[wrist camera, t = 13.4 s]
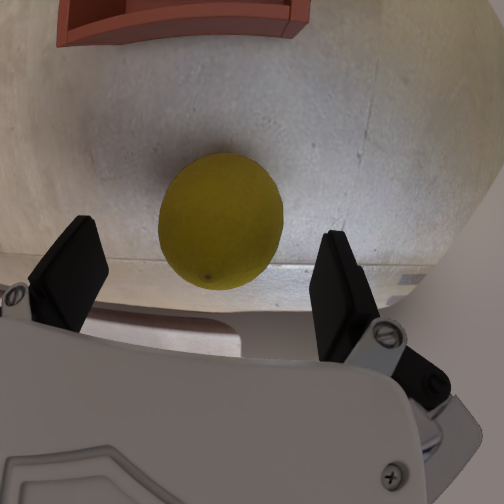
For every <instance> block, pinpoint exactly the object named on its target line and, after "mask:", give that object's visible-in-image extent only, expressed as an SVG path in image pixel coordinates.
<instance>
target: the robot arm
mask: <svg viewBox="0 0 504 504" xmlns="http://www.w3.org/2000/svg"><path fill="white" fill-rule="evenodd" d="M108 273H109V268H108V264H107V261H106V258H105V255H104V252H103V248H102V245H101V242H100V238H99V235H98V231H97V227H96V224H95V221H94V220H93V219H92V218H91V216H86V215H79V216H77V217H76V218H75V219H74V220H73V221H72V222H71V223H70V225H69V226H68V227H67V228H66V229H65V230H64V232H63V233H62V234H61V235H60V236H59V238H58V239H57V240H56V241H55V243H54V244H53V245H52V246H51V248H50V249H49V250H48V251H47V253H46V254H45V255H44V257H43V258H42V259H41V260H40V262H39V263H38V264H37V266H36V267H35V269H34V270H33V271H32V273H31V274H30V276H29V277H28V280H29V282H30V286H29V287H28V285H27V284H26V283H23V282H20V283H16V284H14V285H12V286H11V287H9V288H8V289H7V290H6V292H5V293H4V295H3V297H2V306H1V307H0V504H432V503H434V502H435V500H436V499H437V498H438V497H439V496H440V495H441V494H442V493H443V492H444V491H445V490H446V488H447V487H448V486H449V485H450V484H451V483H452V482H453V480H454V479H455V478H456V477H457V476H458V475H459V473H460V472H461V471H462V470H463V468H464V467H465V466H466V464H467V463H468V462H469V461H470V459H471V458H472V456H473V455H474V454H475V452H476V451H477V449H478V448H479V447H480V444H481V442H482V437H483V435H482V429H481V427H480V425H479V424H478V423H477V421H476V420H475V419H474V417H473V416H472V415H471V413H470V412H469V411H468V409H467V408H466V407H465V406H464V404H463V403H462V402H461V400H460V399H459V398H458V397H457V395H454V396H452V395H451V393H450V392H451V384H450V381H449V378H448V377H447V375H446V374H445V373H444V372H443V371H442V370H440V369H439V368H438V367H436V366H434V364H432V363H431V362H429V361H428V360H426V359H425V358H424V357H422V356H421V355H419V354H418V353H416V352H415V351H414V350H412V349H411V348H410V347H408V346H407V345H406V344H407V334H406V332H405V330H404V328H403V327H402V326H401V324H399V323H398V322H397V321H396V320H393V319H391V318H387V317H380V315H379V312H378V309H377V306H376V303H375V300H374V297H373V295H372V292H371V289H370V286H369V284H368V281H367V278H366V276H365V273H364V270H363V268H362V267H361V266H358V265H357V263H356V260H355V258H354V255H353V252H352V250H351V247H350V245H349V242H348V240H347V237H346V235H345V233H344V232H343V231H335V230H329V231H328V234H327V233H324V234H323V237H322V241H321V244H320V248H319V252H318V256H317V259H316V263H315V267H314V270H313V274H312V277H311V281H310V285H309V294H310V300H311V306H312V313H313V319H314V326H315V333H316V340H317V348H318V355H319V361H320V362H317V361H292V360H271V359H252V358H238V357H226V356H215V355H205V354H196V353H188V352H180V351H172V350H165V349H159V348H152V347H146V346H140V345H134V344H129V343H123V342H118V341H113V340H108V339H103V338H99V337H94V336H90V335H85V334H81V333H79V332H80V330H81V328H82V325H83V323H84V321H85V319H86V317H87V315H88V313H89V311H90V309H91V307H92V305H93V303H94V301H95V299H96V297H97V295H98V293H99V291H100V289H101V287H102V285H103V283H104V282H105V280H106V278H107V276H108Z"/></svg>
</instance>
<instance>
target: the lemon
mask: <svg viewBox="0 0 504 504" xmlns="http://www.w3.org/2000/svg"><path fill="white" fill-rule="evenodd" d="M282 230H283V203H282V200H281V197H280V194H279V191H278V188H277V185H276V184H275V182H274V181H273V179H272V178H271V176H270V175H269V174H268V172H267V171H266V170H265V169H264V168H262V167H261V166H260V165H259V164H258V163H256V162H255V161H253V160H251V159H249V158H247V157H245V156H243V155H238V154H233V153H214V154H211V155H208V156H205V157H202V158H199V159H197V160H196V161H194V162H193V163H191V164H189V165H188V166H186V167H185V168H184V169H183V170H182V171H181V172H180V173H179V174H178V175H177V177H176V178H175V179H174V180H173V181H172V183H171V184H170V186H169V188H168V190H167V192H166V194H165V197H164V199H163V202H162V204H161V208H160V214H159V224H158V235H159V241H160V246H161V250H162V252H163V254H164V256H165V258H166V260H167V262H168V264H169V265H170V266H171V267H172V268H173V269H174V271H175V272H176V273H177V274H178V275H179V276H181V277H182V278H183V279H185V280H186V281H187V282H189V283H191V284H193V285H196V286H198V287H201V288H205V289H211V290H229V289H233V288H236V287H240V286H242V285H244V284H246V283H248V282H250V281H252V280H253V279H255V278H256V277H257V276H258V275H259V274H260V273H262V272H263V271H264V270H265V269H266V267H267V266H268V264H269V263H270V261H271V260H272V258H273V256H274V255H275V253H276V251H277V248H278V245H279V241H280V237H281V234H282Z"/></svg>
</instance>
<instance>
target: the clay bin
mask: <svg viewBox="0 0 504 504" xmlns="http://www.w3.org/2000/svg"><path fill="white" fill-rule="evenodd" d="M310 3H311V0H60V2H59V11H58V23H57V45H56V46H57V47H58V48H59V47H70V46H85V45H123V44H128V43H133V42H139V41H146V40H153V39H160V38H169V37H180V36H194V35H254V36H268V37H279V38H288V39H293V38H294V37H295V36H296V35H297V34H298V33H299V32H300V31H301V30H302V29H303V28H304V27H305V26H306V25H307V24H308V23H309V14H310Z"/></svg>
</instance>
